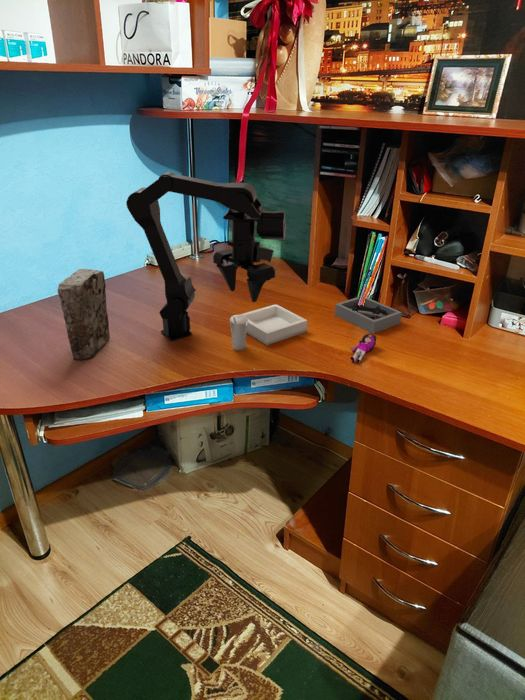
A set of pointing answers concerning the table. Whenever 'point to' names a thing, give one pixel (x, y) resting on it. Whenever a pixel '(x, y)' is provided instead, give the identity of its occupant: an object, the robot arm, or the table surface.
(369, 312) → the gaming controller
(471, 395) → the table surface
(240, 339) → the milkshake
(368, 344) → the character figurine
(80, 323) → the stone block
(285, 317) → the tray
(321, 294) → the table surface
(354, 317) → the gray open box
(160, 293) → the table surface
